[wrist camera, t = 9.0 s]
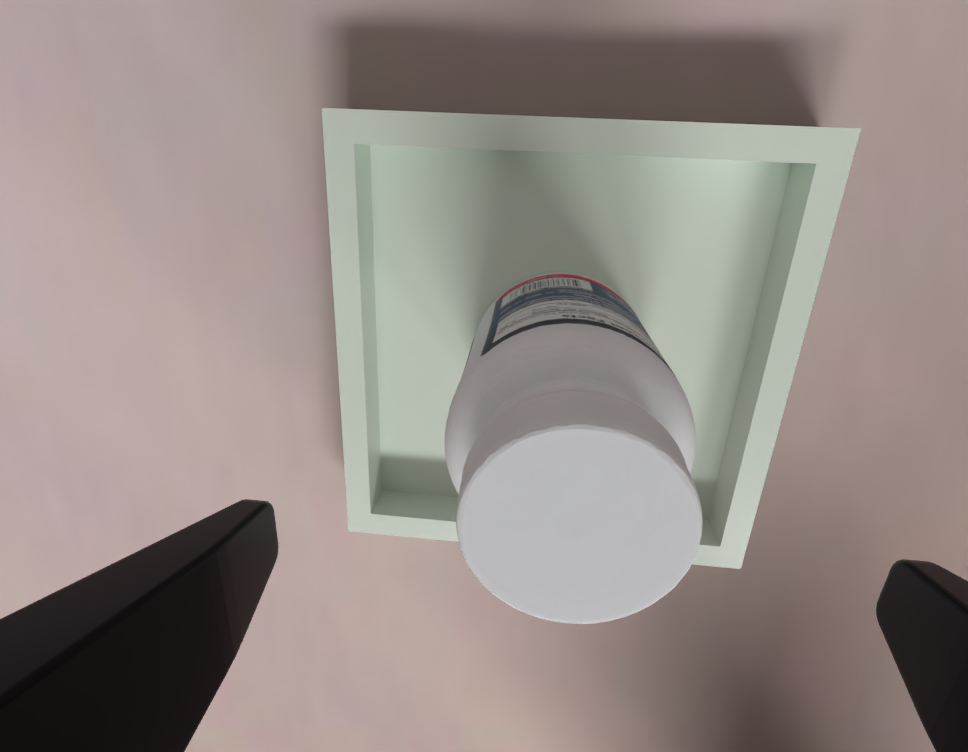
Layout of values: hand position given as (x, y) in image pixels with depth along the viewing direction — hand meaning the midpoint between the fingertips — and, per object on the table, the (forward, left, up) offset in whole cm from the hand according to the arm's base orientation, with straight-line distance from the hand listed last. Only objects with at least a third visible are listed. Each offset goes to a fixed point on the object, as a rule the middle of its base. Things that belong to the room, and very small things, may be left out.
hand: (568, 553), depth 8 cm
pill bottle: (0, 0, -10) cm, 10 cm away
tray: (0, 0, -10) cm, 10 cm away
